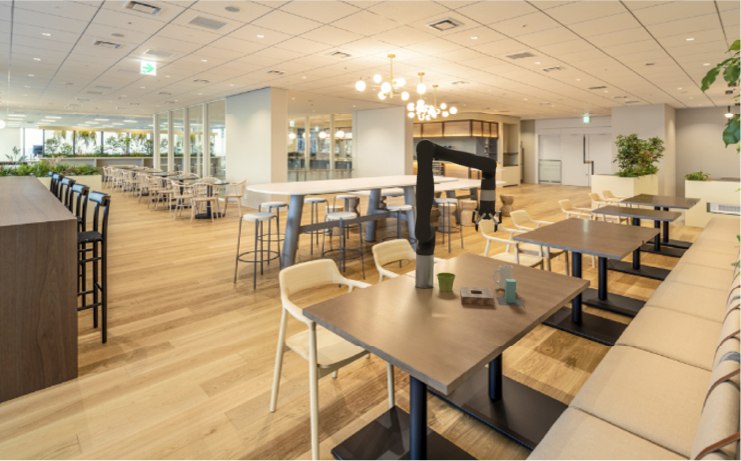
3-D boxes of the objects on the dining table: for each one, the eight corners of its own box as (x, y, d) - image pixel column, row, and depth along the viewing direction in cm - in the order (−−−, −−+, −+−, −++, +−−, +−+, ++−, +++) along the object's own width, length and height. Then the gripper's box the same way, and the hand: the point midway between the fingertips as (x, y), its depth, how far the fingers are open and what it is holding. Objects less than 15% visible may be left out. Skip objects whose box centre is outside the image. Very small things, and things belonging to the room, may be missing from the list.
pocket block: (461, 305, 181) (461, 296, 180) (460, 295, 195) (460, 286, 194) (493, 307, 179) (493, 298, 178) (490, 297, 192) (490, 288, 191)
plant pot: (455, 295, 195) (455, 278, 194) (435, 294, 197) (436, 277, 196) (455, 289, 204) (455, 272, 203) (436, 288, 206) (436, 272, 205)
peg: (505, 302, 182) (506, 281, 180) (504, 299, 186) (505, 278, 184) (515, 302, 181) (516, 281, 180) (513, 299, 185) (514, 279, 184)
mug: (508, 286, 207) (509, 264, 205) (514, 291, 201) (515, 267, 199) (489, 287, 206) (490, 265, 204) (494, 291, 200) (495, 268, 198)
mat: (498, 306, 180) (498, 304, 179) (495, 298, 190) (495, 296, 190) (524, 308, 178) (524, 306, 177) (520, 299, 188) (520, 297, 188)
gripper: (473, 199, 193) (471, 232, 195) (503, 200, 190) (502, 233, 193) (472, 198, 200) (470, 230, 203) (501, 198, 197) (500, 230, 200)
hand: (486, 231), depth 198 cm, fingers open, 8 cm apart
